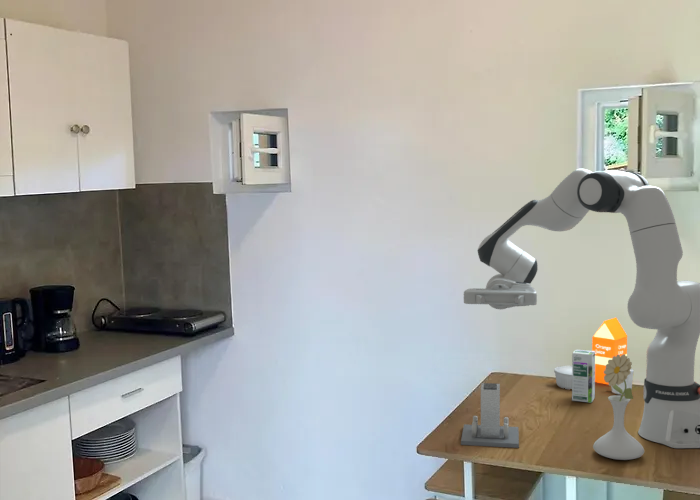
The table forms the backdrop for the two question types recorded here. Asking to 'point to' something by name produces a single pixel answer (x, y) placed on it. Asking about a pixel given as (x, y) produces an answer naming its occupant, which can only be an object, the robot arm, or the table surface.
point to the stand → (506, 439)
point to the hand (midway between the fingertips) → (499, 301)
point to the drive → (490, 410)
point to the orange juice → (608, 346)
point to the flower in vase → (618, 415)
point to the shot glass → (622, 385)
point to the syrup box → (583, 376)
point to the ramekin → (564, 376)
